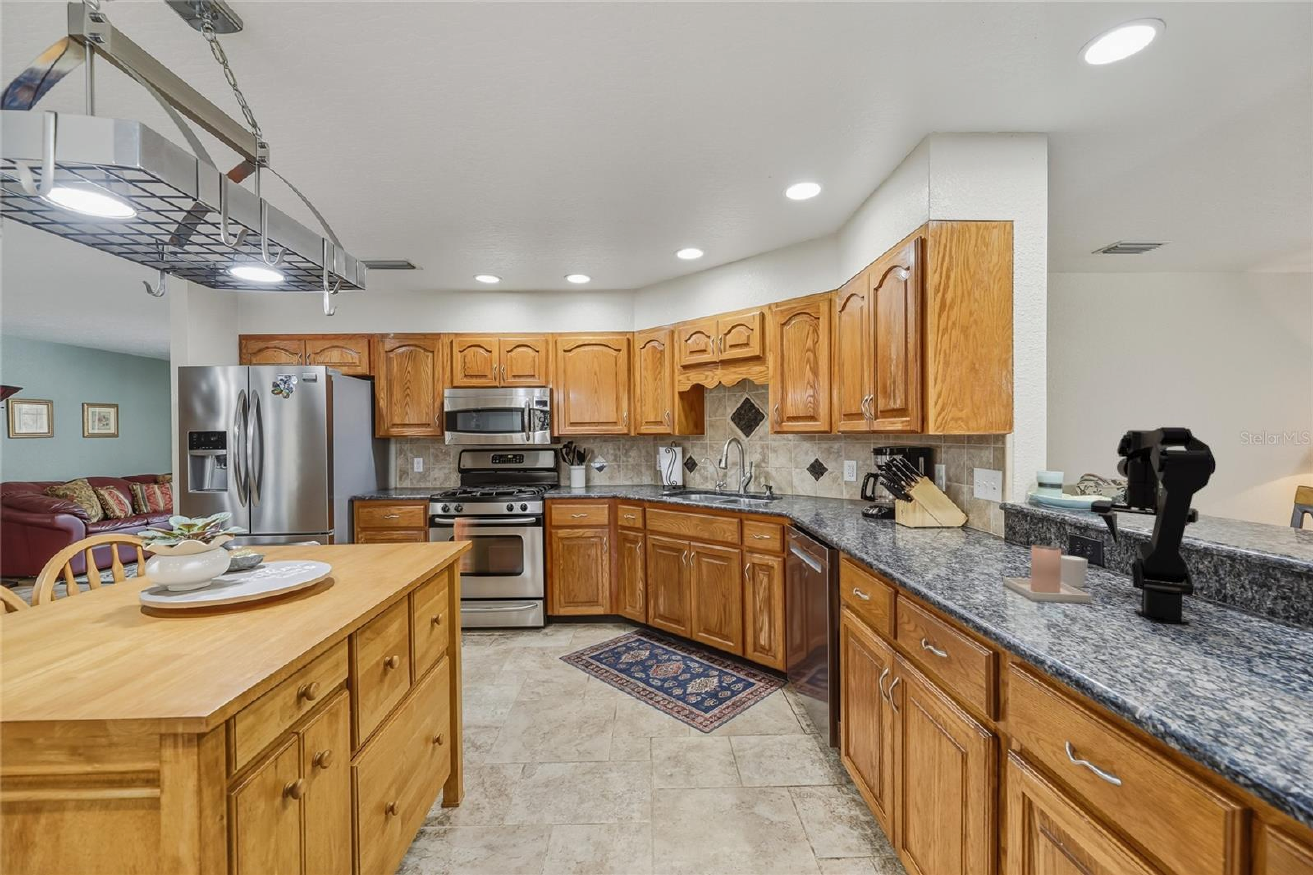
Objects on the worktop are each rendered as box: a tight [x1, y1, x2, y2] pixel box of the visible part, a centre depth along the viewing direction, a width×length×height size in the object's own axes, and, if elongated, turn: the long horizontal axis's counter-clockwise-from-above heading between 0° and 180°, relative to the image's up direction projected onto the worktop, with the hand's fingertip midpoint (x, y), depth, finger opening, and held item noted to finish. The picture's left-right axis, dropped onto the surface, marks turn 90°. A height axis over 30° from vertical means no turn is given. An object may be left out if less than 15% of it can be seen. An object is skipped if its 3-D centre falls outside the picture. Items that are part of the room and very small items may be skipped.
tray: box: [1002, 577, 1093, 605], centre depth 132 cm, size 13×13×2 cm
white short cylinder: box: [1061, 554, 1089, 588], centre depth 142 cm, size 7×7×7 cm
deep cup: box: [1030, 544, 1062, 593], centre depth 132 cm, size 6×6×11 cm
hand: (1141, 546), depth 129 cm, fingers open, 9 cm apart
